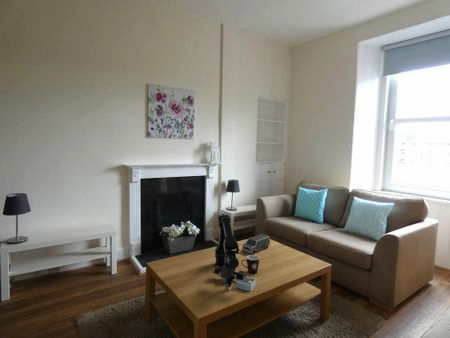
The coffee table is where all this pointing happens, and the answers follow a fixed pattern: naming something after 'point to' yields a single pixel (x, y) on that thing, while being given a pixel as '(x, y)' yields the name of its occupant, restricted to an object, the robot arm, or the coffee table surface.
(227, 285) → the lever
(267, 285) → the coffee table surface
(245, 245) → the toy van
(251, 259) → the coffee mug
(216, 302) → the coffee table surface
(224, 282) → the pivot stand
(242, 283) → the dish
